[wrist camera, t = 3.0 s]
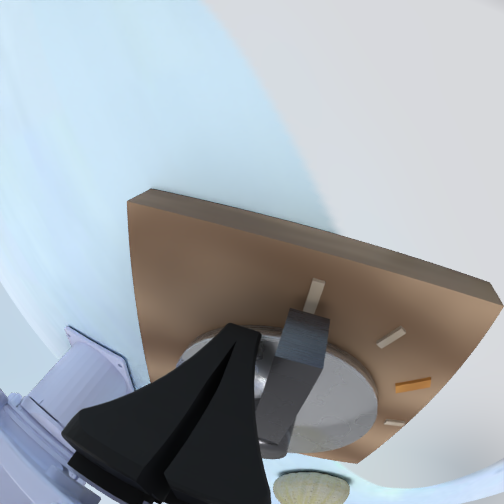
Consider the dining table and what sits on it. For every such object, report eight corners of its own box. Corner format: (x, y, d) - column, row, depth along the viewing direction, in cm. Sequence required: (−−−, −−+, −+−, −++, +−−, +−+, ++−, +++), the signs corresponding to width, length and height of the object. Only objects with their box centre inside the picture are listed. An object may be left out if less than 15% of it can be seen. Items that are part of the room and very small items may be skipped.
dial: (333, 453, 17) (325, 491, 15) (185, 409, 20) (166, 443, 17) (438, 330, 10) (452, 393, 7) (179, 258, 13) (133, 304, 10)
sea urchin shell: (314, 476, 22) (334, 530, 18) (349, 449, 27) (366, 497, 23) (253, 480, 26) (272, 528, 22) (293, 460, 32) (309, 503, 28)
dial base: (359, 444, 20) (356, 465, 18) (166, 387, 23) (154, 405, 21) (490, 282, 11) (505, 309, 9) (151, 188, 14) (124, 202, 12)
